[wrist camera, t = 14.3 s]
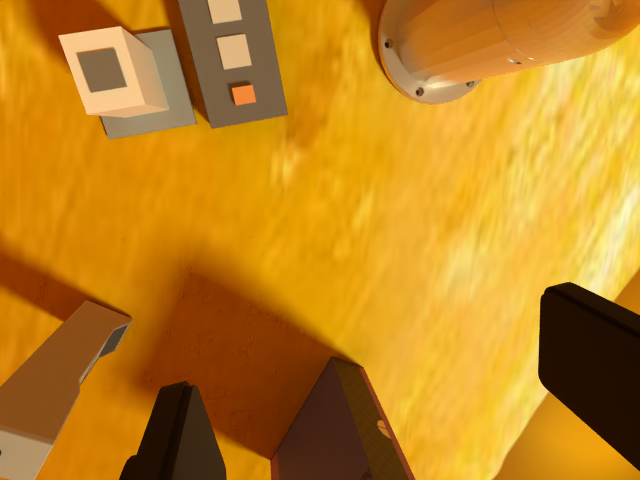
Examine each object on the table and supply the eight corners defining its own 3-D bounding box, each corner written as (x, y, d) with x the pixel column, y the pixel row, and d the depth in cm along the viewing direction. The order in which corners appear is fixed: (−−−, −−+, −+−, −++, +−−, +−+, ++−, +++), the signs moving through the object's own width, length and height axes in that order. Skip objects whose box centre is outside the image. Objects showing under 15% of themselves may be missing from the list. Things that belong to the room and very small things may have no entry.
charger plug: (151, 50, 32) (119, 25, 24) (169, 109, 33) (144, 104, 26) (104, 57, 31) (56, 34, 23) (125, 117, 33) (86, 114, 25)
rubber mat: (171, 30, 32) (170, 29, 31) (197, 123, 34) (196, 123, 34) (77, 44, 31) (75, 43, 31) (110, 139, 34) (108, 139, 33)
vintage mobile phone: (118, 344, 40) (-77, 659, 16) (72, 326, 38) (-220, 644, 15) (134, 317, 39) (-47, 603, 16) (87, 298, 38) (-192, 582, 14)
